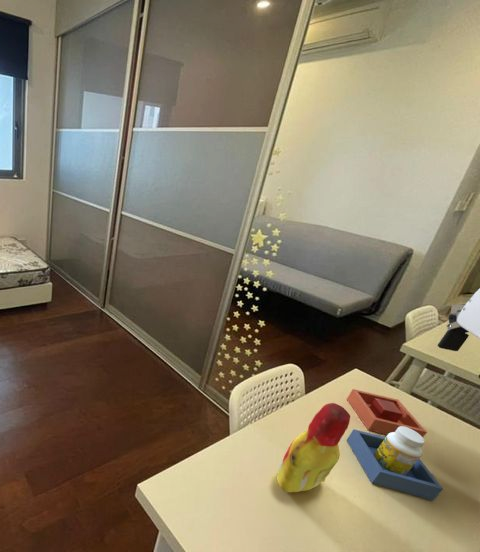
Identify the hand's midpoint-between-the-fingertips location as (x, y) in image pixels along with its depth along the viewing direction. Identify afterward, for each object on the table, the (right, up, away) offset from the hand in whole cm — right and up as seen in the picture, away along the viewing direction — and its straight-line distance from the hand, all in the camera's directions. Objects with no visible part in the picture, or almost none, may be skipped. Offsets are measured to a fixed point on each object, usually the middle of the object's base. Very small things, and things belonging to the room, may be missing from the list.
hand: (466, 363), depth 60 cm
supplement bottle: (-7, -24, +8) cm, 26 cm away
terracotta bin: (+3, -20, +21) cm, 29 cm away
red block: (+3, -19, +21) cm, 29 cm away
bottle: (-30, -24, +3) cm, 39 cm away
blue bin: (-8, -25, +8) cm, 27 cm away
